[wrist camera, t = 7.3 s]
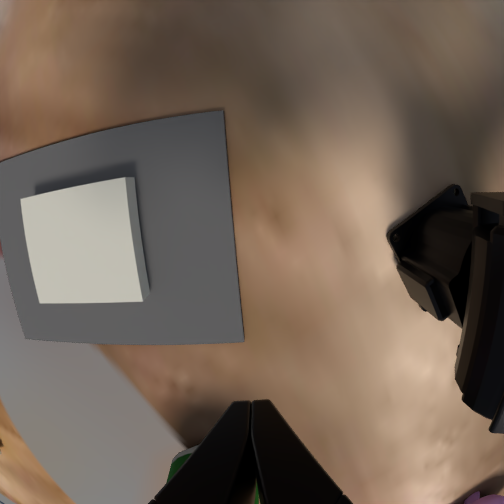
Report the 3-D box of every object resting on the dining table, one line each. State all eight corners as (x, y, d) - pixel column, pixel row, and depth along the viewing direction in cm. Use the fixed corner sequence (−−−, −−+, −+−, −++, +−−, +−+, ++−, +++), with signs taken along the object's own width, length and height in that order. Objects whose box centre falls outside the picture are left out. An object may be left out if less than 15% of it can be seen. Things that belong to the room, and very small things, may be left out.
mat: (223, 111, 17) (223, 110, 16) (244, 339, 20) (244, 342, 20) (-4, 165, 17) (-8, 165, 17) (28, 336, 20) (25, 338, 20)
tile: (125, 177, 16) (20, 199, 16) (142, 301, 17) (39, 303, 17) (136, 177, 17) (35, 196, 17) (151, 291, 19) (52, 295, 19)
